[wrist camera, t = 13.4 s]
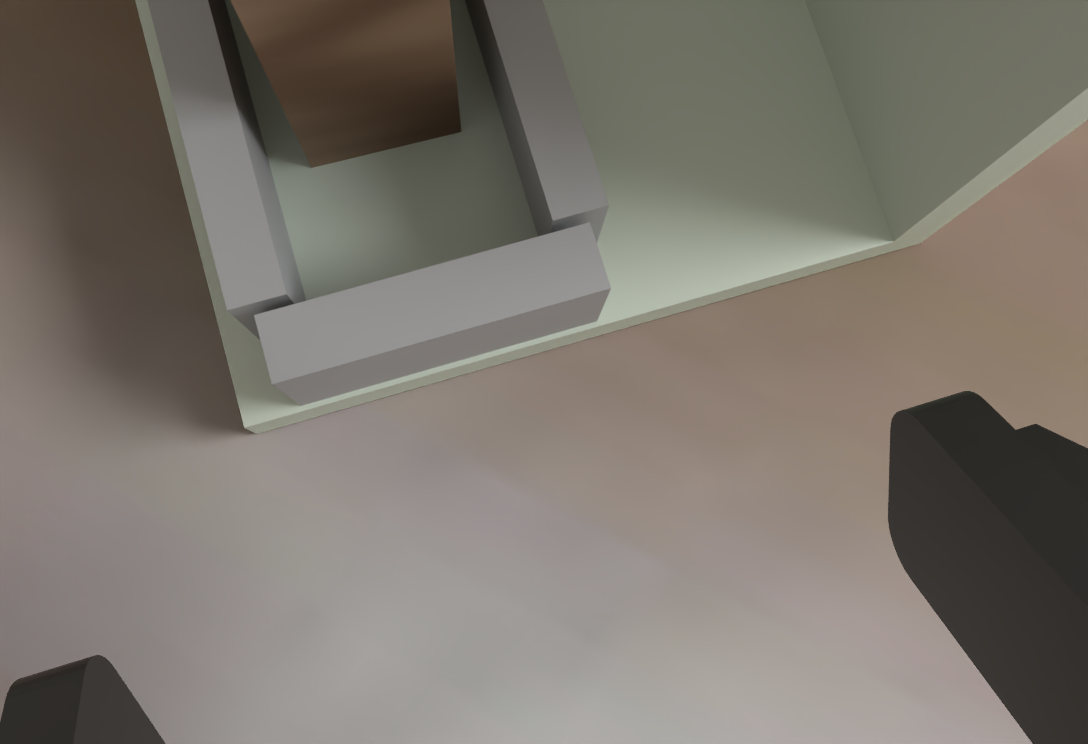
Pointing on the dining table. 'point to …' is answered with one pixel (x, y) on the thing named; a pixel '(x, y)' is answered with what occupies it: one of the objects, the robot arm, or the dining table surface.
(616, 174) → the sage green display stand
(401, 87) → the brown wooden block
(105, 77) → the dining table surface
